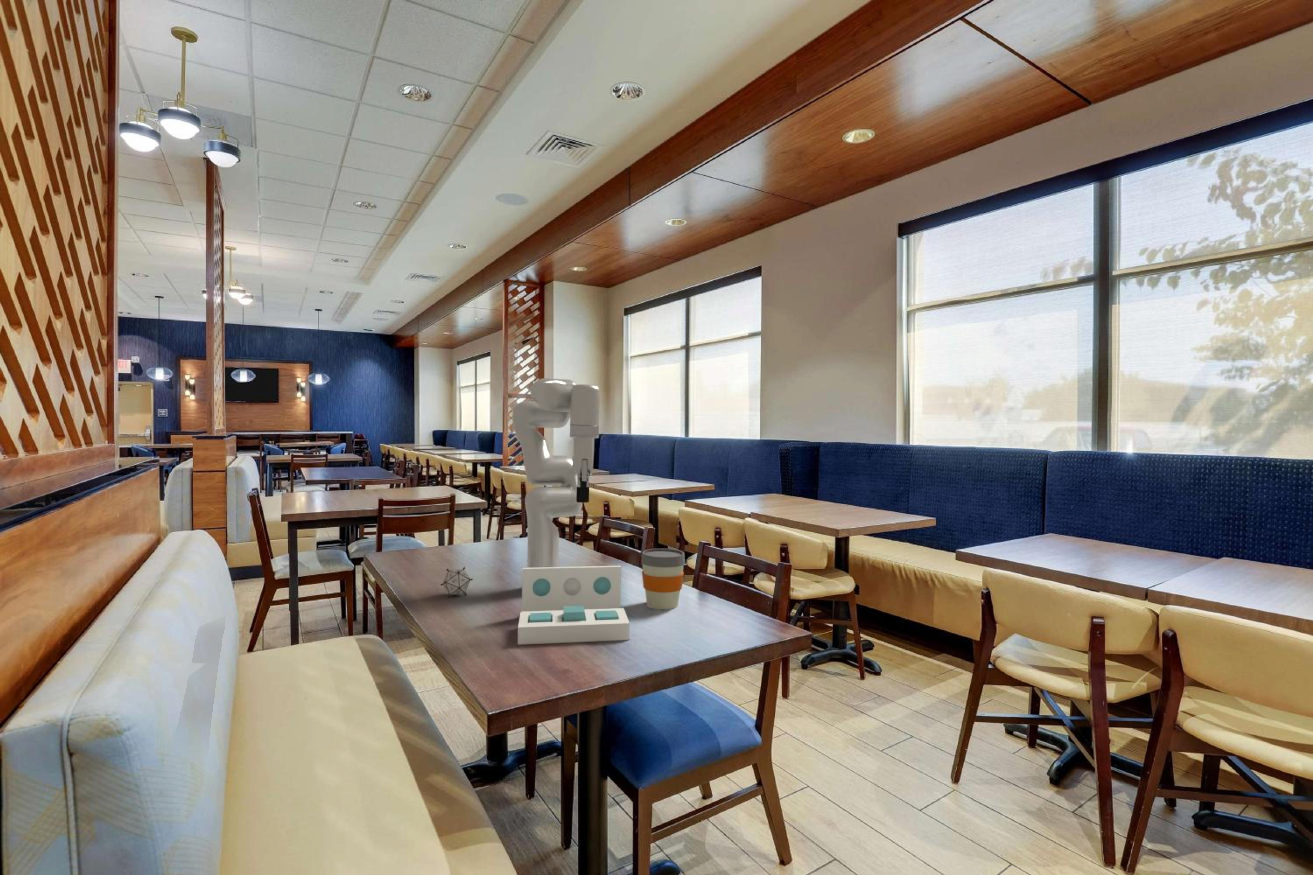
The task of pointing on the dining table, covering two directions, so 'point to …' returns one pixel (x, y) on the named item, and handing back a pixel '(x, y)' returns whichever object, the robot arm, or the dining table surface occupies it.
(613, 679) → the dining table surface
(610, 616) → the button
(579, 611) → the button
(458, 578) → the grey geometric polyhedron ornament
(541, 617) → the button
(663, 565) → the reusable coffee cup
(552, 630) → the button board
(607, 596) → the pattern sign
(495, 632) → the dining table surface
